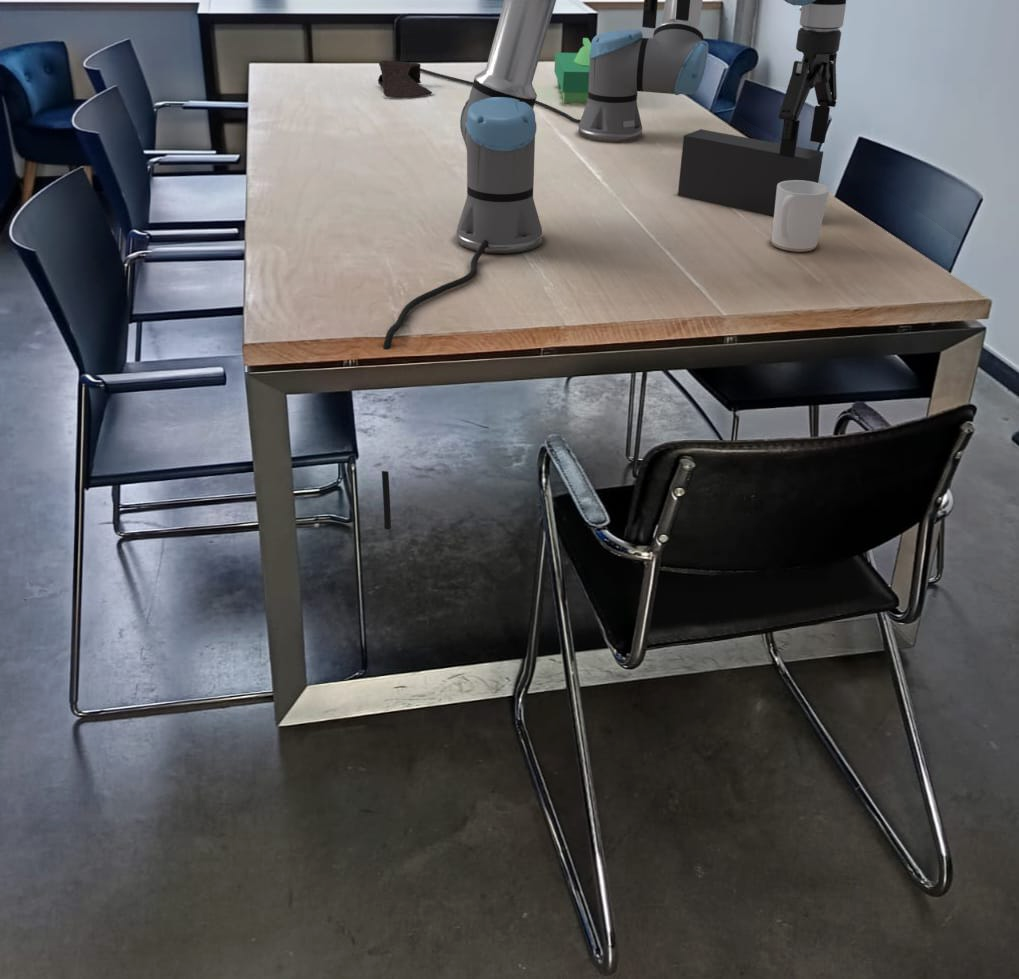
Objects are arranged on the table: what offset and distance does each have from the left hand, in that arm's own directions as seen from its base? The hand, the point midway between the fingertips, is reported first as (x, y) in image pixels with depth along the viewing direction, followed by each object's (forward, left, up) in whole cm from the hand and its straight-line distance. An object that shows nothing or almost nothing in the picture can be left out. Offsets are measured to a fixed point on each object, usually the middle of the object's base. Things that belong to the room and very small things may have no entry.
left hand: (802, 149), depth 206 cm
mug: (-20, +2, -13) cm, 23 cm away
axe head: (+93, +96, -13) cm, 134 cm away
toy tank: (+102, +46, -13) cm, 113 cm away
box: (+5, +9, -13) cm, 16 cm away
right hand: (+32, +27, +16) cm, 45 cm away
